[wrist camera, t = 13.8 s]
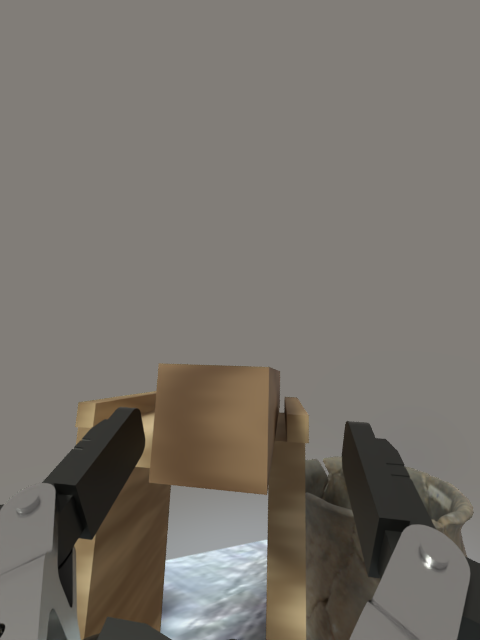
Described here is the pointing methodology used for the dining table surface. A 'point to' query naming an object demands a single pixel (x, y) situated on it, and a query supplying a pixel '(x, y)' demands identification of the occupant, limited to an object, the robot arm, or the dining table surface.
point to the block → (215, 426)
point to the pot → (356, 545)
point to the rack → (152, 525)
